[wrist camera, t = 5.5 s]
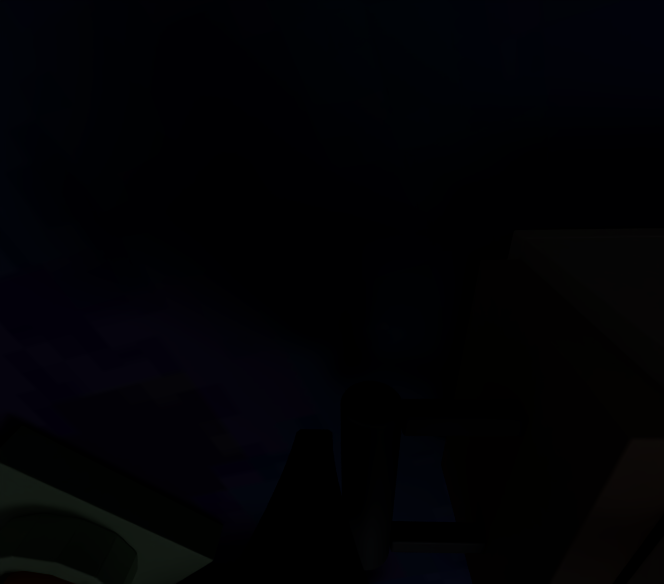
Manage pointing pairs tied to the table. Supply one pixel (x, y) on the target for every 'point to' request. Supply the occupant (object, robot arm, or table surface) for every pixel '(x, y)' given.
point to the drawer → (519, 447)
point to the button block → (92, 520)
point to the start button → (33, 578)
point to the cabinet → (609, 301)
